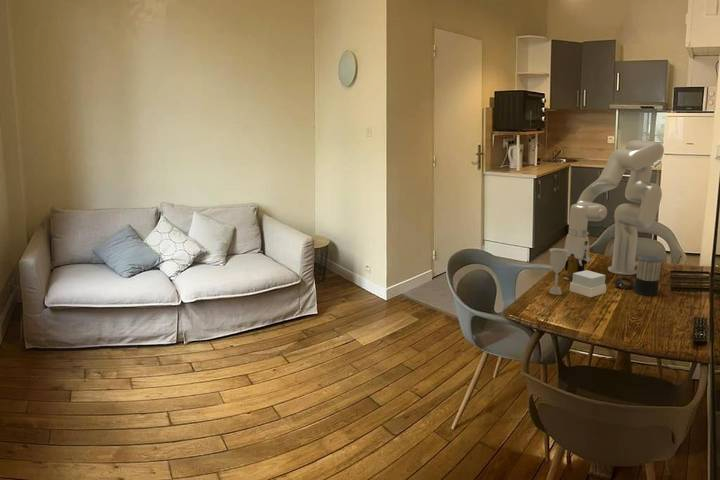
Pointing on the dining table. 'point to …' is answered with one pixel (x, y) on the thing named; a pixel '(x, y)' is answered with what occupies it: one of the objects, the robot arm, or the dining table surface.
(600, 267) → the dining table surface
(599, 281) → the tower top
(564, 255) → the chalice
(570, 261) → the condiment
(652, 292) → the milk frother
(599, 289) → the tower base
